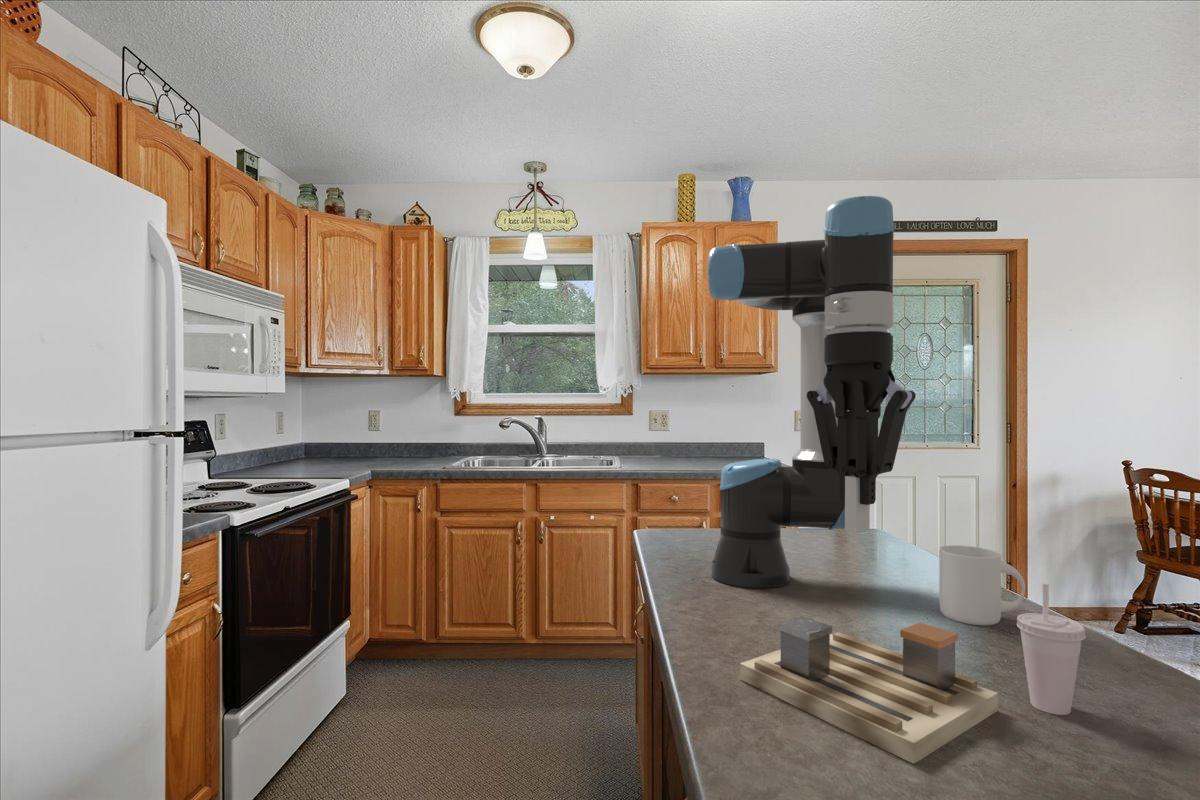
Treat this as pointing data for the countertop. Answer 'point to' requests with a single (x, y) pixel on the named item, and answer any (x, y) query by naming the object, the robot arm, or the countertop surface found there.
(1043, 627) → the smoothie
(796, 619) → the fader
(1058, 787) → the countertop surface
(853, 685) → the beige flat board
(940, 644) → the block
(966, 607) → the mug
